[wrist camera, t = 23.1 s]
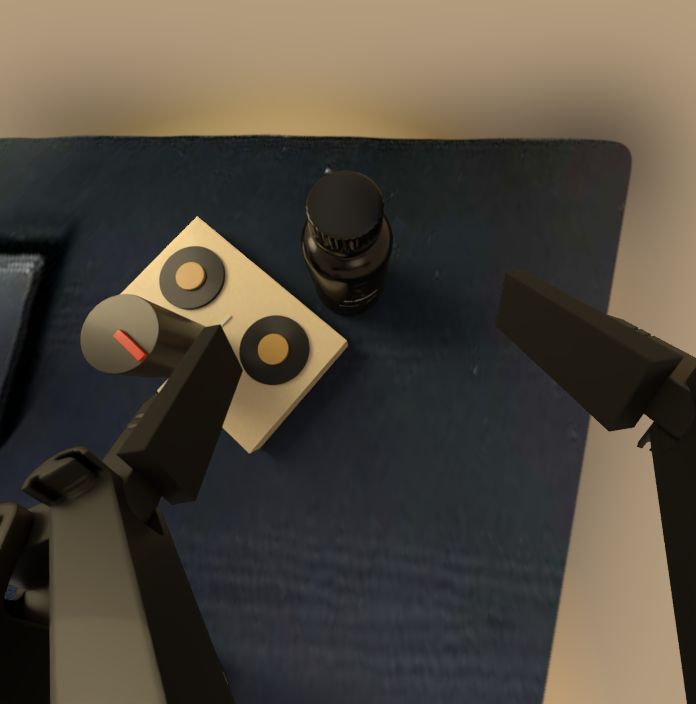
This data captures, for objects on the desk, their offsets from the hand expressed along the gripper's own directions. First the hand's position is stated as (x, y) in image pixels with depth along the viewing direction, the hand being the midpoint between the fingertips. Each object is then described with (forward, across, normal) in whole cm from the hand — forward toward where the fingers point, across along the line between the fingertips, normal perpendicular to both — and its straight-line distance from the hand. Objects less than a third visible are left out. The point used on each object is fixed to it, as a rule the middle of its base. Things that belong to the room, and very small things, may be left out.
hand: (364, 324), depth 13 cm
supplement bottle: (+16, 0, -4) cm, 16 cm away
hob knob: (+10, -15, -6) cm, 19 cm away
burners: (+13, -11, -4) cm, 17 cm away
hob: (+14, -12, -6) cm, 20 cm away
